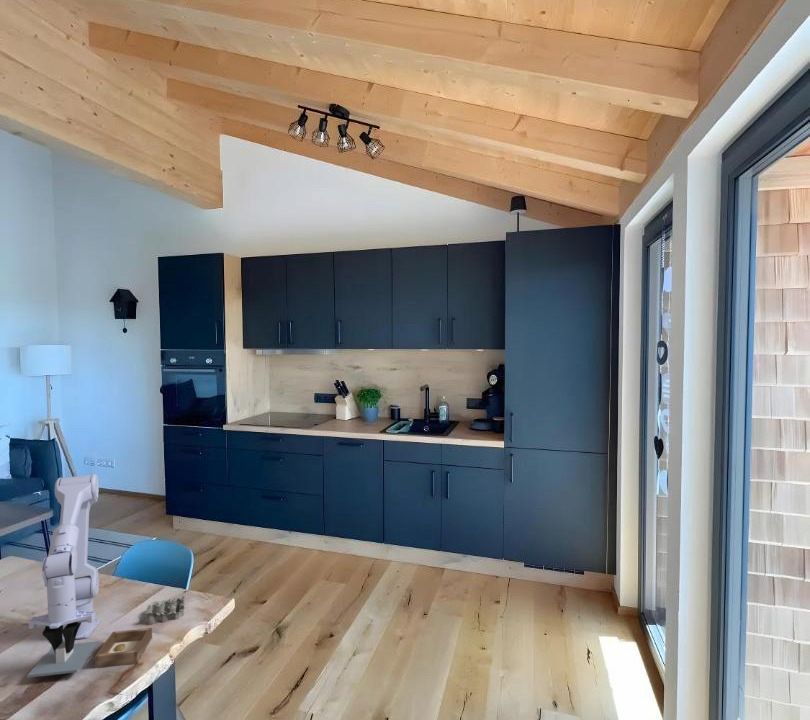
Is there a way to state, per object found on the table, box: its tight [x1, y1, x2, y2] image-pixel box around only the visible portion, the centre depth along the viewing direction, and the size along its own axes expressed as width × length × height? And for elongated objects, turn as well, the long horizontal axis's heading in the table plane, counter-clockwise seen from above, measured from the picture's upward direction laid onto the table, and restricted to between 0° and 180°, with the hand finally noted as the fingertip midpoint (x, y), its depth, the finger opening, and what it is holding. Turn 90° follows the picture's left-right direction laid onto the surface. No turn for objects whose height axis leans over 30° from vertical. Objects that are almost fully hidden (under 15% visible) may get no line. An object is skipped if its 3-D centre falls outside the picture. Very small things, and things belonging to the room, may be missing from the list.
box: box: [94, 627, 153, 669], centre depth 124 cm, size 10×10×3 cm
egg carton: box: [144, 595, 186, 626], centre depth 140 cm, size 11×8×4 cm
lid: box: [26, 640, 100, 678], centre depth 119 cm, size 11×11×4 cm
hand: (64, 651), depth 119 cm, fingers closed on lid, 2 cm apart
